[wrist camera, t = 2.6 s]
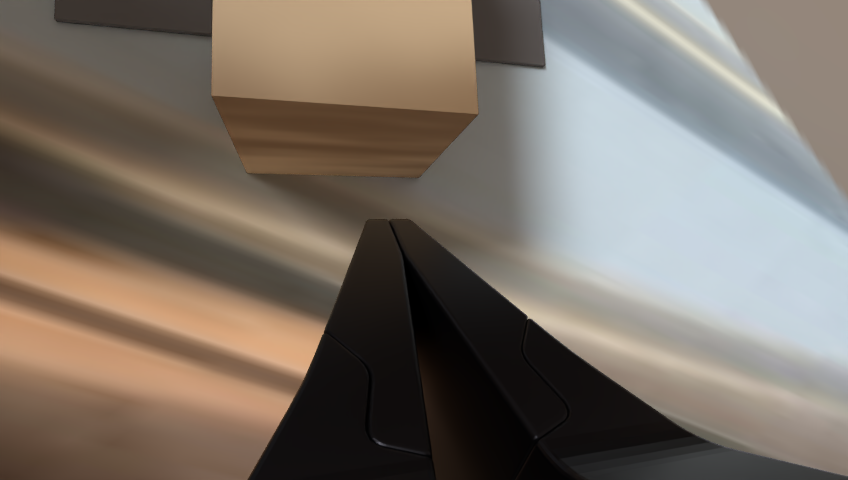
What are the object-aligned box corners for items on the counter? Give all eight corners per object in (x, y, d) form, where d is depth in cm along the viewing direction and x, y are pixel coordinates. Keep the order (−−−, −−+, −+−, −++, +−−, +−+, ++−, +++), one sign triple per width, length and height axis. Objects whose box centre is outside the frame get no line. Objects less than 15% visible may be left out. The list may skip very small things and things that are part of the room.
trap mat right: (543, 66, 25) (545, 65, 24) (441, 57, 23) (442, 54, 23) (534, -31, 25) (536, -34, 25) (435, -48, 24) (436, -50, 23)
